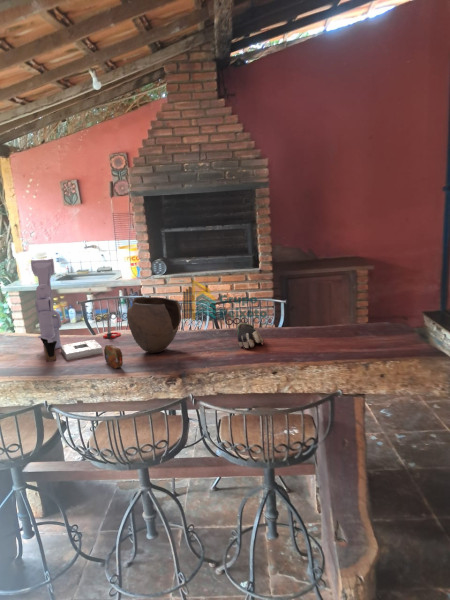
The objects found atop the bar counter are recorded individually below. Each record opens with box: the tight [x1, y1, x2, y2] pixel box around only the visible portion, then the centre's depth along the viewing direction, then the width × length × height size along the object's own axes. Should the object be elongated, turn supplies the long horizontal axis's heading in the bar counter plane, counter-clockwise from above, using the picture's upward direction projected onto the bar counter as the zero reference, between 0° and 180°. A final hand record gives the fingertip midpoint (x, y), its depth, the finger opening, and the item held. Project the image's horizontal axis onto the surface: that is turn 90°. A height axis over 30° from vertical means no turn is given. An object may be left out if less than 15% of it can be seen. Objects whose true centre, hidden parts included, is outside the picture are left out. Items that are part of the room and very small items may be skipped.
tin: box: [103, 344, 124, 369], centre depth 191 cm, size 15×3×8 cm, turn 35°
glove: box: [237, 322, 265, 349], centre depth 214 cm, size 12×10×25 cm
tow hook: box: [102, 313, 122, 339], centre depth 238 cm, size 8×13×9 cm
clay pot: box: [126, 296, 182, 354], centre depth 206 cm, size 24×24×25 cm
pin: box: [43, 346, 57, 362], centre depth 203 cm, size 4×4×8 cm
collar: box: [60, 339, 104, 361], centre depth 212 cm, size 16×16×3 cm
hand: (50, 354), depth 204 cm, fingers open, 7 cm apart
